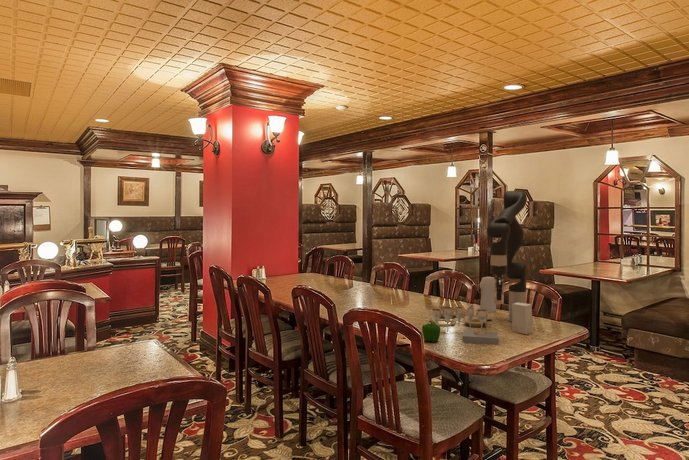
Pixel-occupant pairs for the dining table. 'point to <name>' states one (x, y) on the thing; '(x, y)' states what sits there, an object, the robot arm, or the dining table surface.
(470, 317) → the goblet set
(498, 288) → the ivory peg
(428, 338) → the bell pepper
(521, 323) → the skincare box
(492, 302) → the tall pale column
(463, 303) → the dining table surface
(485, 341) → the notched board
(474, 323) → the tableware set
